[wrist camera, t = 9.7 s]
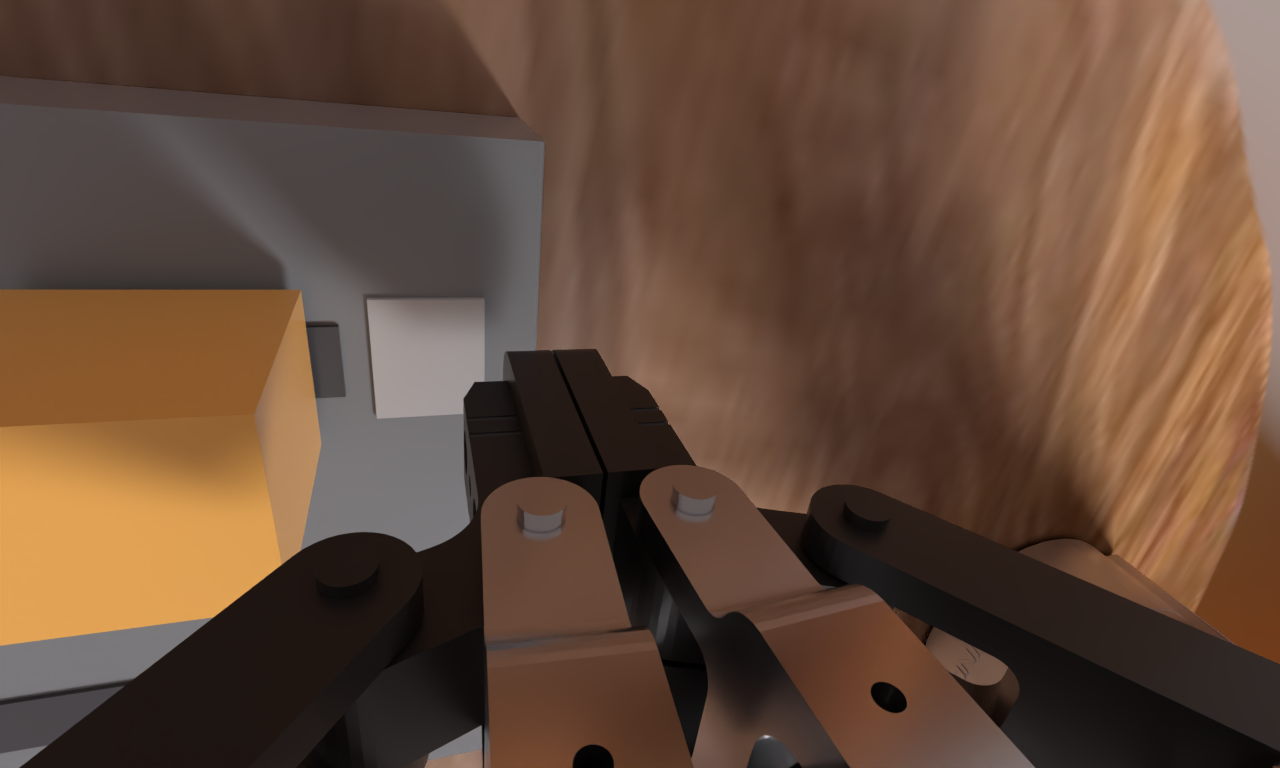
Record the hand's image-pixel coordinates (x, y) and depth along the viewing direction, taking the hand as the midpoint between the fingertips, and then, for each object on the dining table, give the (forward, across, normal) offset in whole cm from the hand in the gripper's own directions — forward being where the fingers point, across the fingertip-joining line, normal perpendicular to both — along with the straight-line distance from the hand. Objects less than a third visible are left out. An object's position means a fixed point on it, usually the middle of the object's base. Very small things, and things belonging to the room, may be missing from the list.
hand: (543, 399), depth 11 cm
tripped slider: (+2, +6, 0) cm, 6 cm away
